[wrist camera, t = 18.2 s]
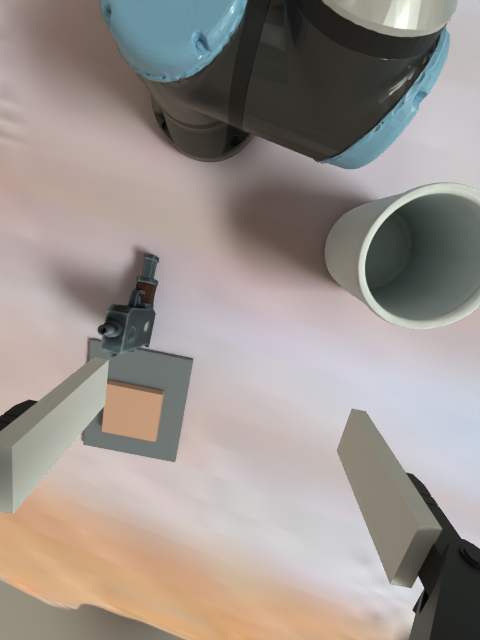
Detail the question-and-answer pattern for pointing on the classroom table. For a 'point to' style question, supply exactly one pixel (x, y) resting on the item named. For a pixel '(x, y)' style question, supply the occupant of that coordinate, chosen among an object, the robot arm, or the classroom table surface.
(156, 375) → the mat
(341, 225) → the utensil holder
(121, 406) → the tile
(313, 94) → the robot arm
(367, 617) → the classroom table surface
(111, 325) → the gun
